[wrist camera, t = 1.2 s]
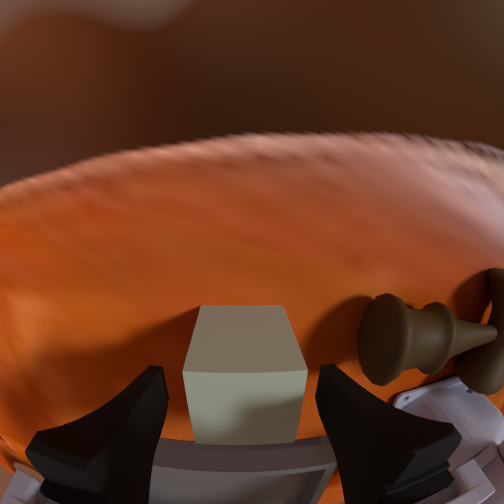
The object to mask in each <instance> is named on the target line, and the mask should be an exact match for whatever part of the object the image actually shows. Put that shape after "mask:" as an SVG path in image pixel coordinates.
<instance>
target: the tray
mask: <svg viewBox="0 0 504 504" xmlns="http://www.w3.org/2000/svg"><path fill="white" fill-rule="evenodd" d="M336 466H337V461H336V457H335V454H334V451H333V448H332V446H331V443H330V441H329V438H328V436H324V437H317V438H310V439H302V440H295V442H289V443H277V444H260V445H212V444H195V442H192V441H180V440H171V439H163V438H159V441H158V445H157V448H156V451H155V456H154V460H153V467H152V474H151V482H150V493H149V504H317V503H318V501H319V499H320V497H321V495H322V494H323V492H324V490H325V488H326V486H327V484H328V482H329V480H330V478H331V476H332V474H333V472H334V470H335V468H336Z"/></svg>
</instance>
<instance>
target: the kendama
mask: <svg viewBox="0 0 504 504" xmlns="http://www.w3.org/2000/svg"><path fill="white" fill-rule="evenodd" d="M488 277H489V284H490V290H491V297H492V310H491V314H490V317H489V320H488V323H487V324H479V323H474V322H469V321H464V320H460V319H457V318H454V315H453V313H452V312H451V310H450V309H449V308H448V307H447V306H446V305H445V304H442V303H439V302H434V303H430V304H427V305H425V306H424V307H423V309H421V310H418V309H411V308H407V307H406V305H405V304H404V303H403V301H402V300H401V299H400V298H398V297H396V296H394V295H392V294H389V293H385V294H382V295H379V296H377V297H376V298H375V299H374V300H373V302H372V303H371V304H370V305H369V307H368V308H367V310H366V312H365V315H364V317H363V319H362V323H361V327H360V332H359V339H358V355H359V363H360V365H361V368H362V371H363V373H364V374H365V376H366V377H367V378H368V379H369V380H370V381H371V383H372V384H376V385H380V386H385V385H387V384H388V383H390V382H391V381H393V380H394V379H396V378H397V377H398V376H399V375H400V373H401V372H402V371H404V370H408V369H412V368H418V369H419V370H420V371H421V372H422V373H423V374H430V375H434V374H435V373H437V372H438V371H439V370H441V369H442V368H443V367H444V365H445V364H446V362H447V361H448V359H449V358H451V357H453V356H455V355H457V354H460V353H462V352H465V351H467V350H469V349H470V350H469V351H467V352H466V353H465V354H464V355H463V356H462V357H461V358H460V359H459V361H458V362H457V363H456V365H455V371H456V374H457V376H458V377H459V379H460V380H461V382H462V383H463V384H464V385H465V386H467V387H468V388H469V389H471V390H472V391H474V392H476V393H479V394H484V395H490V394H495V393H497V392H498V391H499V390H500V389H501V388H502V386H503V383H504V269H500V268H493V269H490V270H489V273H488Z"/></svg>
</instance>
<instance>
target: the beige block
mask: <svg viewBox="0 0 504 504" xmlns="http://www.w3.org/2000/svg"><path fill="white" fill-rule="evenodd" d="M182 372H183V379H184V385H185V391H186V397H187V403H188V409H189V414H190V419H191V425H192V430H193V435H194V439H195V444H212V445H260V444H277V443H289V442H295V438H296V434H297V429H298V424H299V419H300V414H301V408H302V403H303V397H304V391H305V386H306V379H307V373H308V369H307V366H306V363H305V361H304V358H303V356H302V353H301V350H300V348H299V345H298V343H297V340H296V337H295V335H294V332H293V330H292V327H291V325H290V322H289V319H288V317H287V314H286V312H285V309H284V307H283V305H277V306H206V305H201V307H200V310H199V314H198V317H197V321H196V324H195V328H194V331H193V335H192V338H191V342H190V345H189V349H188V353H187V356H186V360H185V364H184V367H183V371H182Z"/></svg>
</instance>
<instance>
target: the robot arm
mask: <svg viewBox="0 0 504 504" xmlns="http://www.w3.org/2000/svg"><path fill="white" fill-rule="evenodd" d="M315 399H316V404H317V408H318V412H319V415H320V418H321V421H322V423H323V426H324V428H325V431H326V433H327V436H328V438H329V441H330V443H331V446H332V448H333V451H334V454H335V457H336V461H337V465H338V469H339V474H340V478H341V483H342V488H343V494H344V500H345V504H504V440H503V439H504V418H503V415H502V414H501V412H500V411H499V410H498V408H497V407H496V406H495V405H494V404H493V403H492V402H491V401H490V400H489V399H488V398H487V397H486V396H485V395H484V394H479V393H476V392H474V391H472V390H471V389H469V388H468V387H467V386H465V385H464V384H463V383H462V382H461V380H460V379H459V377H458V376H457V375H456V376H453V377H451V378H448V379H445V380H442V381H439V382H436V383H433V384H430V385H427V386H424V387H420V388H417V389H414V390H410V391H406V392H403V393H400V394H398V395H397V396H396V398H395V400H394V402H393V405H390V404H388V403H386V402H384V401H383V400H381V399H379V398H378V397H376V396H375V395H373V394H372V393H370V392H369V391H367V390H366V389H364V388H363V387H362V386H360V385H359V384H358V383H356V382H355V381H354V380H353V379H351V378H350V377H349V376H348V375H346V374H345V373H344V372H343V371H342V370H340V369H339V368H338V367H337V366H335V365H334V364H328V365H321V368H320V374H319V379H318V384H317V389H316V394H315ZM168 401H169V397H168V392H167V387H166V382H165V377H164V372H163V367H162V366H151V365H150V366H149V367H148V368H147V369H145V370H144V371H143V372H142V373H141V374H140V375H139V376H138V377H137V378H136V379H135V380H134V381H133V382H132V383H131V384H130V385H128V386H127V387H126V388H125V389H124V390H123V391H122V392H120V393H119V394H118V395H117V396H115V397H114V398H113V399H112V400H110V401H109V402H108V403H106V404H105V405H103V406H102V407H100V408H98V409H97V410H95V411H93V412H92V413H90V414H88V415H86V416H84V417H82V418H80V419H77V420H75V421H73V422H70V423H68V424H65V425H62V426H59V427H55V428H51V429H47V430H42V431H37V433H36V434H35V436H34V437H33V439H32V441H31V442H30V444H29V445H28V447H27V449H26V450H25V454H26V456H27V458H28V460H29V461H30V463H31V464H32V465H33V466H34V467H35V468H36V470H37V471H38V472H39V473H40V474H41V475H42V476H43V477H44V478H45V479H44V481H43V483H41V482H40V481H39V480H37V479H36V478H34V477H32V476H30V475H28V474H26V473H25V472H23V471H21V470H20V469H17V470H16V472H15V474H14V476H13V478H12V479H11V481H10V483H9V485H8V487H7V489H6V491H5V493H4V495H3V497H2V499H1V501H0V504H149V493H150V482H151V474H152V467H153V460H154V456H155V451H156V448H157V445H158V441H159V438H160V435H161V432H162V428H163V425H164V422H165V418H166V414H167V408H168Z"/></svg>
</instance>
